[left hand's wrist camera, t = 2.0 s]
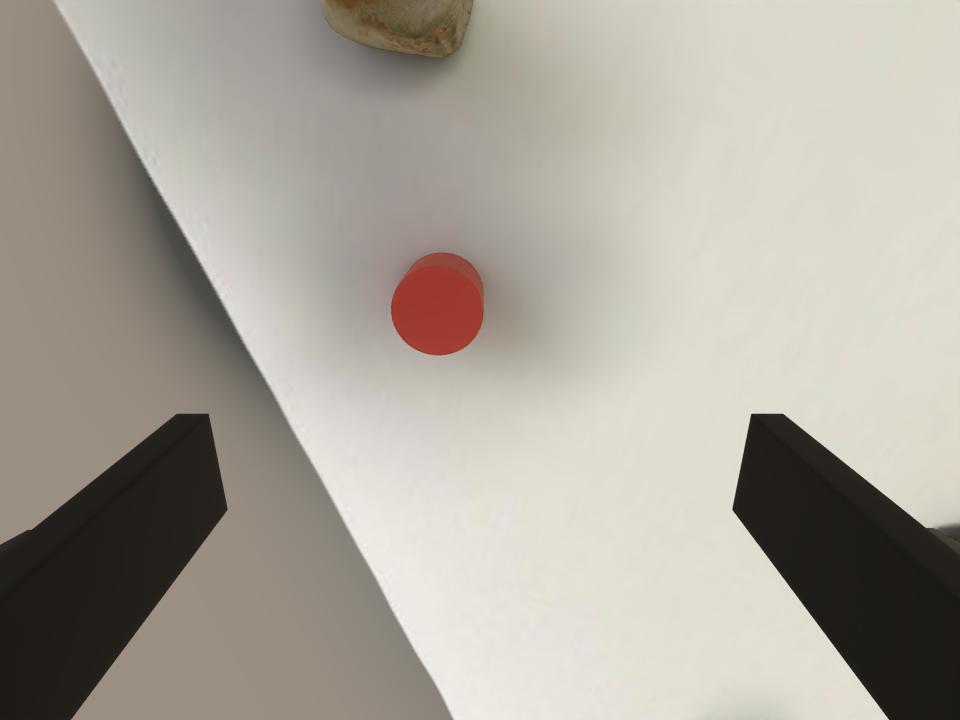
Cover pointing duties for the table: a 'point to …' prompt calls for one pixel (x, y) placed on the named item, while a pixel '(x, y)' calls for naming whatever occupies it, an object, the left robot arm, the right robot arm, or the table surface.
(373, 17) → the sculpture
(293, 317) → the table surface
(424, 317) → the canister
